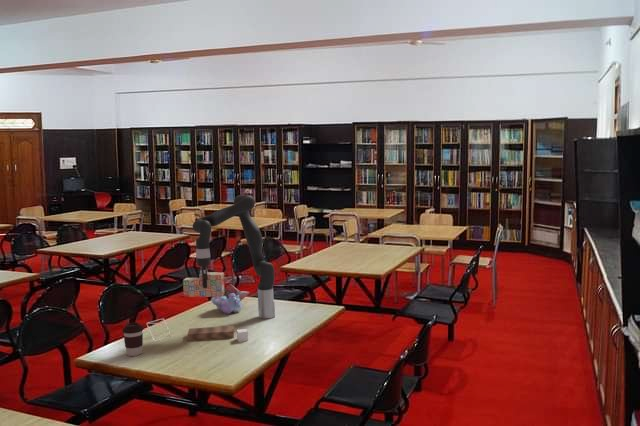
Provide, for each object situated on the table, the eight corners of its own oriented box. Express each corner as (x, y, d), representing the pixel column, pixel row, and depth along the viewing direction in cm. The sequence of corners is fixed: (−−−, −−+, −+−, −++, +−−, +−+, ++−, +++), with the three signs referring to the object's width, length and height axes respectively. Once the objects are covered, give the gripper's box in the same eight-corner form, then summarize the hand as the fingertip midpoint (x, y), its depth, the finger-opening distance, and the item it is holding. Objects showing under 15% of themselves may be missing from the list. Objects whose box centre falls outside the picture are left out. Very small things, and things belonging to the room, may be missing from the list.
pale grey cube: (246, 338, 305) (246, 328, 304) (248, 340, 300) (247, 331, 300) (237, 339, 304) (236, 329, 303) (238, 341, 299) (238, 332, 298)
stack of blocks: (183, 297, 311) (182, 274, 310) (186, 294, 317) (185, 272, 316) (222, 296, 310) (221, 274, 308) (225, 293, 316) (224, 271, 315)
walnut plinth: (234, 332, 316) (233, 325, 315) (233, 338, 306) (233, 331, 305) (189, 335, 313) (189, 328, 312) (187, 341, 303) (187, 334, 303)
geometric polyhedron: (143, 338, 309) (142, 322, 308) (161, 333, 318) (160, 317, 317) (157, 342, 301) (156, 326, 300) (174, 337, 310) (173, 320, 309)
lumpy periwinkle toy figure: (207, 308, 348) (221, 283, 347) (208, 298, 369) (222, 274, 368) (236, 323, 352) (250, 298, 351) (236, 312, 373) (250, 289, 372)
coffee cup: (128, 350, 290) (126, 321, 288) (147, 350, 290) (145, 321, 288) (120, 357, 280) (118, 327, 278) (140, 357, 280) (139, 327, 278)
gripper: (211, 258, 305) (212, 288, 307) (209, 253, 319) (210, 283, 321) (196, 259, 303) (198, 289, 305) (195, 254, 317) (197, 284, 319)
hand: (204, 286), depth 313 cm, fingers closed on stack of blocks, 7 cm apart
